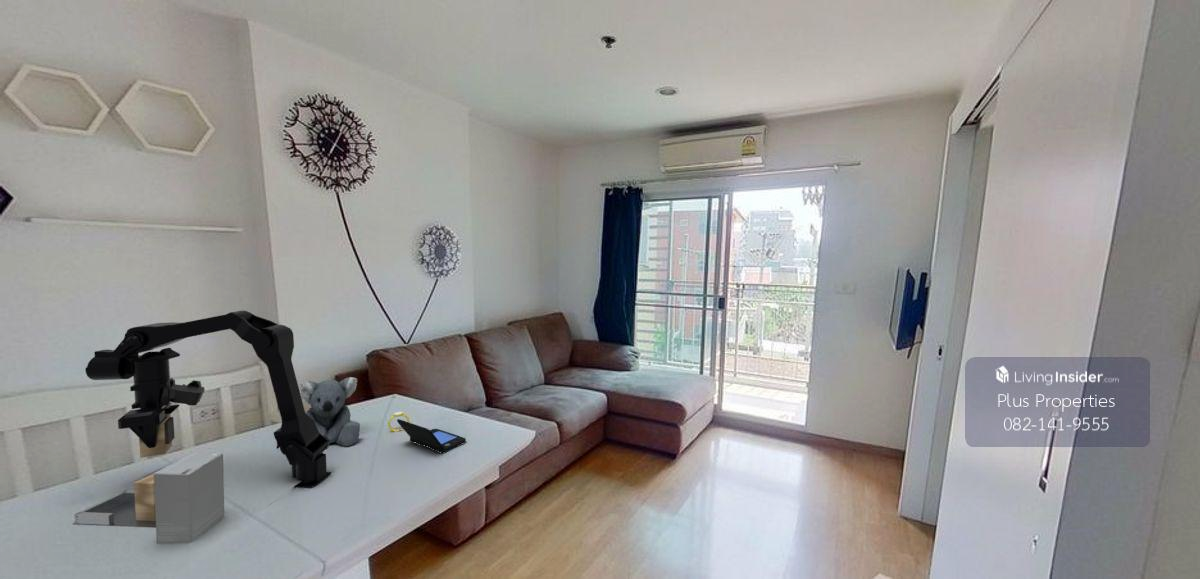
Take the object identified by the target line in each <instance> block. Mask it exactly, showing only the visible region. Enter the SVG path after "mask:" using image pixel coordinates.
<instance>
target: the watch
mask: <svg viewBox="0 0 1200 579" xmlns="http://www.w3.org/2000/svg"><path fill="white" fill-rule="evenodd" d="M401 416H402V417H404V418H405V419H406V420H407V421H406V422H409V423H410V417H409V416H408V415H407V414H405V413H404V411H397V412H394V413H393V415H392V416H391V417H390V418H389V419H388V428H389V431H391V432H393V431H397V432H400V431H399V429H400V428H396V429H395V428H393V427H392V426H391V421H392V419H393V418H397V417H401ZM402 429H403V428H402ZM403 430H404V429H403ZM404 431H405V430H404Z"/></svg>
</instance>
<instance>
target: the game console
mask: <svg viewBox="0 0 1200 579" xmlns="http://www.w3.org/2000/svg"><path fill="white" fill-rule="evenodd" d="M396 421H397V423H398V425H399V426H400V427H401V429H404V432H405V433H406V434H407V436H409V441H412V442H416V443H418V444H420V445H419V446H421V445H425V446H424V447H426V446H428V447H427V448H429V447H430V448H432V449H434V450H437V451H439V452H441V453H440V454H442V453H443V454H445V453H447V452H449V451H450V449H451V450H453V449H455V448H457V447H459V446H461V445H460V444H462V443H464V442H465V443H466V442H467V439H466V437H463V436H461V435H457V434H455V433H450V432H448V431H446V430H442V429H439V428H432V429H429V428H427V427H423V426H420V425H417V424H414V423H411V422H410V421H409V422H408V421H405V420H403V419H399V418H398V419H397V420H396ZM412 442H411V443H412ZM416 443H415V444H416ZM465 443H464V444H465ZM418 444H417V445H418ZM458 445H459V446H458ZM462 445H463V444H462ZM456 446H457V447H456ZM454 447H455V448H454ZM430 448H429V449H430ZM452 448H453V449H452ZM434 450H433V451H434ZM448 450H449V451H448ZM437 451H436V452H437ZM446 451H447V452H446ZM439 452H438V453H439ZM444 452H445V453H444Z"/></svg>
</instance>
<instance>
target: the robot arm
mask: <svg viewBox="0 0 1200 579" xmlns="http://www.w3.org/2000/svg"><path fill="white" fill-rule="evenodd" d="M227 330H231V331H232V332H234V333H235V334H236V335H237V336H238V337H239V339H241V340H243V341H245V342H247V343H248V344H250V345H251V347H252V348H253V350H254V352H255V355H256V357H258V358H259V360H260V361H262V362H263V363H264V364H265V366H266V367H267V370H268V375H269V377H270V381H271V385H272V390H273V392H274V396H275V400H276V403H277V408H278V411H279V415H280V419H281V425H280V427H279V428H278V429H276V430H275V431H274V432H273V437H274V439H275V441H276V449H277V450H278V449H279V450H280V452H281V453H282V454H283V455H285V458H286V459H287V461H288V463H289V466H291V477H292V478H293V479H296V480H297V481H300V482H297V484H295V485H294V487H295V488H296V487H298V488H314V487H316V486H318V485H319V484H320V483H321V482H323V481H324V480H326V479H327V478H328V477H330V476H331V475H332V472H331V471H327V454H326V453H324V451H326V450H328V448H329V446H330V444H331V443H330V441H329V440H328V439H327V438H325V437H324V436H323V435H322V434H320V433H319V431H318V429H317V427H316V425H315V423H314V421H313V420H312V419H311V418H310V417H309V416H308V415H307V414H306V411H305V407H304V402H303V399H302V398H303V397H302V396H301V395H302V394H300V393H301V390H300V386H299V384H298V381H297V380H298V379H297V376H296V373H295V368H294V366H293V365H294V364H293V361H292V357H293V353H294V348H295V342H294V341H295V338H294V337H295V336H294V332H293V329H292V328H291V327H288V326H286V325H283V324H278V323H276V322H274V321H272V320H270V319H267V318H264V317H260V316H257V315H256V314H253V313H252V312H250V311H248V310H237V311H230V312H228V313H226V314H220V315H216V316H211V317H207V318H201V319H196V320H192V321H191V320H190V321H184V322H157V323H151V324H144V325H139V326H133V327H131V328H128V329H126V332H125V334H124V337H123V339H122V340H121V342H120V343H119V344H118V345H117V346H116V347H115V349H114V350H113V349H101V350H96V351H94V357H92V358H91V359H90V360H89V361H88V364H87V366H86V367H85V374H86V376H87V377H88V378H89V379H90V380H92V381H110V380H113V381H115V380H129V379H131V378H132V377H133V384H132V385H131V386H130V390H129V391H130V392H134V402H133V403H132V404H131V410H129V411H128V412H126V413H125V414H123V416H121V417H120V418H118V420H117V427H118V430H125V429H130V430H131V432H133V433H134V434H135V435H136V436H137V438H138V439H139V438H140V439H141V440H142V441H143V443H144V444H145V445H146V446H147V447H148V448H154V447H155V446H156V443H157V437H158V431H159V425H160V424H161V423H162V422H163V421H164V420H165V419H166V418H167V417H168V416H167V417H164V416H165V414H170V415H171V414H172V413H173V412H175V411H176V410H177V409H178V408H179V407H180V405H181V404H185V405H187V406H193V407H194V406H197V405H198V404H199V402H201V399H202V397H203V394H204V393H205V386H202V382H201V380H191V381H190V382H189V383H188V384H184V383H183V384H176V380H175V379H174V378H173V377H171V370H170V360H171V359H175V358H179V357H180V356H181V354H180V352H177V351H175V350H173V349H172V347H167V346H169V345H172V344H175V343H178V342H180V341H182V340H184V339H187V338H192V337H196V336H201V335H206V334H212V333H217V332H222V331H227ZM163 347H165V348H163ZM158 348H159V349H160V348H162V349H160V350H159V351H158V350H157V351H153V350H155V349H158ZM141 353H143V354H141ZM139 354H140V355H139ZM172 403H175V404H172Z"/></svg>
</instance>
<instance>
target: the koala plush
mask: <svg viewBox="0 0 1200 579" xmlns="http://www.w3.org/2000/svg"><path fill="white" fill-rule="evenodd" d="M357 383H358V378H356V377H351V376H350V377H345V378H344V379H342V380H340V381H337V380H336V379H325V380H321V381H320V382H315V381H311V380H307V379H304V380H302V382H300V384H299V385H300V386H299V391H300V395H301V398H302V400H303V399H304V401H305V402H306V403H307V404H309V405H310V408H308V409H307V410H306V411H305V413H306V414H307V415H308V416H309V417H310V418H311V419H312V420H313V421H314V423H315V425H316V427H317V429H318V431H319V433H320V434H322V435H323V436H324V437H325V438H327V439H328V440H329V441H330V443H329V444H331V443H336V444H337V445H339V446H340V445H341V446H343V447H344V446H346V447H349V446H353V445H354V444H356V442H357V441H358V440H359V437H360V430H361V428H360V427H361V423H360V422H358V421H354V420H351V411H350V408H349V407H348V406H347V405H346V404H345V402H346V399H348V398H350V397H351V396H352V394H354V393H355V392H356V389H357V386H358V384H357Z"/></svg>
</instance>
